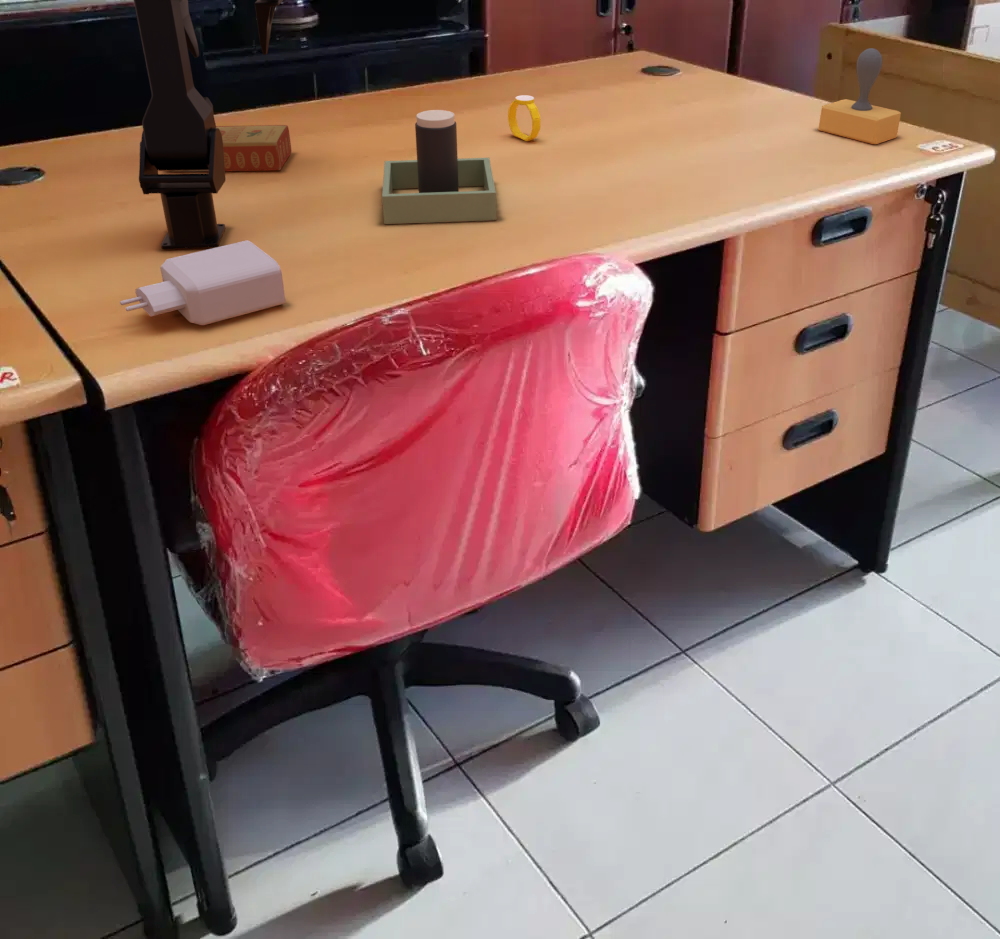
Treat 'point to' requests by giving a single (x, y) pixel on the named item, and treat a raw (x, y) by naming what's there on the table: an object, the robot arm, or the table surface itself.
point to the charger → (214, 284)
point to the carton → (255, 147)
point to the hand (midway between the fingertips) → (231, 55)
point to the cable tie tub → (436, 151)
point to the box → (438, 195)
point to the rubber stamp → (861, 108)
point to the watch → (535, 116)
